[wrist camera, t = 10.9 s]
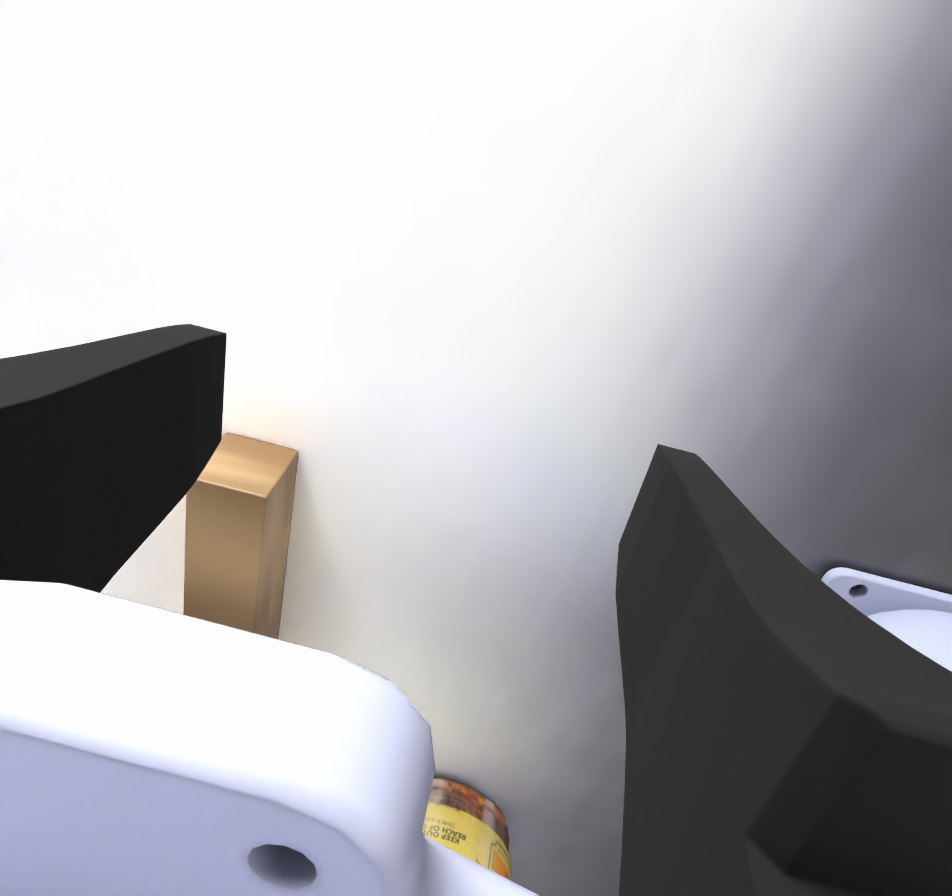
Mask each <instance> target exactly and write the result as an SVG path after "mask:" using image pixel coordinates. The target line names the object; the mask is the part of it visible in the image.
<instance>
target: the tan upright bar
mask: <svg viewBox="0 0 952 896" xmlns="http://www.w3.org/2000/svg"><path fill="white" fill-rule="evenodd" d="M297 462H298V451H297V450H293V449H289V448H285V447H281V446H278V445H274V444H270V443H266V442H262V441H258V440H254V439H250V438H247V437H243V436H239V435H235V434H231V433H226V434H225V435H224V437H223V438H222V439H221V442H220V444H219V445H218V447H217V449H216V450H215V452H214V454H213V455H212V457H211V459H210V460H209V462H208V463H207V465H206V467H205V468H204V470H203V471H202V473H201V474H200V476H199V477H198V479H197V480H196V482H195V483H194V485H193V486H192V487H191V488H190V490H189V491H188V492H187V493H186V530H185V575H184V615H186V616H190V617H194V618H198V619H202V620H205V621H209V622H213V623H217V624H221V625H225V626H228V627H232V628H236V629H240V630H244V631H247V632H251V633H255V634H259V635H263V636H267V637H270V638H274V639H278V635H279V626H280V617H281V607H282V598H283V589H284V580H285V571H286V562H287V553H288V544H289V535H290V526H291V517H292V507H293V498H294V489H295V480H296V471H297Z"/></svg>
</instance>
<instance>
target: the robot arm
mask: <svg viewBox="0 0 952 896" xmlns="http://www.w3.org/2000/svg"><path fill="white" fill-rule="evenodd" d="M225 352H226V333H223V332H219V331H215V330H211V329H207V328H203V327H199V326H195V325H191V324H186V325H174V326H168V327H162V328H156V329H151V330H146V331H141V332H137V333H132V334H127V335H123V336H118V337H114V338H109V339H104V340H100V341H95V342H91V343H86V344H81V345H76V346H71V347H65V348H60V349H54V350H49V351H44V352H38V353H33V354H27V355H22V356H16V357H9V358H3V359H0V896H539V895H537V894H535V893H533V892H531V891H529V890H528V889H526V888H524V887H522V886H520V885H518V884H516V883H514V882H512V881H510V880H508V879H506V878H504V877H503V876H501V875H499V874H497V873H495V872H493V871H491V870H489V869H487V868H485V867H483V866H481V865H479V864H478V863H476V862H474V861H472V860H470V859H468V858H466V857H464V856H462V855H460V854H458V853H456V852H455V851H453V850H451V849H449V848H447V847H445V846H443V845H441V844H439V843H437V842H435V841H433V840H431V839H430V838H428V837H426V836H424V834H423V831H422V829H423V824H424V819H425V815H426V810H427V805H428V801H429V796H430V792H431V787H432V782H433V778H434V773H435V763H434V754H433V745H432V736H431V727H430V725H429V724H428V723H427V722H426V720H425V719H424V718H423V717H422V716H421V715H420V713H419V712H418V711H417V710H416V709H415V708H414V707H413V705H412V704H411V703H410V702H409V701H408V700H407V698H406V697H405V696H404V695H403V694H402V693H401V691H400V690H399V689H398V688H397V687H396V686H395V685H394V683H392V682H391V681H390V680H388V679H386V678H384V677H382V676H380V675H378V674H376V673H373V672H371V671H369V670H367V669H365V668H363V667H361V666H359V665H356V664H354V663H352V662H350V661H348V660H346V659H344V658H342V657H340V656H337V655H335V654H331V653H328V652H324V651H320V650H316V649H312V648H308V647H305V646H301V645H297V644H293V643H289V642H286V641H282V640H278V639H274V638H270V637H267V636H263V635H259V634H255V633H251V632H247V631H244V630H240V629H236V628H232V627H228V626H225V625H221V624H217V623H213V622H209V621H205V620H202V619H198V618H194V617H190V616H186V615H183V614H179V613H175V612H171V611H167V610H163V609H160V608H156V607H152V606H148V605H144V604H141V603H137V602H133V601H129V600H125V599H121V598H118V597H114V596H110V595H106V594H102V593H100V592H101V591H102V589H103V588H104V587H105V586H106V585H107V583H108V582H109V581H110V580H111V578H112V577H113V576H114V575H115V574H116V572H117V571H118V570H119V569H120V568H121V567H122V566H123V565H124V563H125V562H126V561H127V560H128V559H129V558H130V557H131V556H132V554H133V553H134V552H135V551H136V550H137V549H138V548H139V547H140V545H141V544H142V543H143V542H144V541H145V540H146V539H147V538H148V536H149V535H150V534H151V533H152V532H153V531H154V530H155V529H156V527H157V526H158V525H159V524H160V523H161V522H162V521H163V520H164V518H165V517H166V516H167V515H168V514H169V513H170V512H171V510H172V509H173V508H174V507H175V506H176V505H177V504H178V502H179V501H180V500H181V499H182V498H183V497H184V495H185V494H186V493H187V492H188V491H189V490H190V488H191V487H192V486H193V485H194V483H195V482H196V480H197V479H198V477H199V476H200V474H201V473H202V471H203V470H204V468H205V467H206V465H207V463H208V462H209V460H210V459H211V457H212V455H213V454H214V452H215V450H216V449H217V447H218V445H219V444H220V442H221V434H222V413H223V393H224V373H225ZM855 585H863V586H862V587H861V588H859V589H856V590H850V588H852V587H853V586H855ZM616 605H617V618H618V631H619V643H620V654H621V665H622V677H623V688H624V700H625V715H626V761H625V794H624V814H623V834H622V855H621V869H620V884H619V896H952V595H950V594H946V593H942V592H938V591H934V590H931V589H927V588H923V587H919V586H915V585H911V584H907V583H903V582H899V581H896V580H892V579H888V578H884V577H880V576H876V575H872V574H868V573H865V572H861V571H857V570H853V569H849V568H843V567H838V568H833V569H831V570H829V571H828V572H827V573H826V574H825V575H824V576H823V578H822V579H821V580H820V579H819V578H818V577H816V576H815V575H814V574H813V573H812V572H811V571H810V570H808V569H807V568H806V567H805V566H804V565H803V564H802V563H801V562H800V561H799V560H797V559H796V558H795V557H794V556H793V555H792V554H791V553H790V552H789V551H788V550H787V549H786V548H785V547H784V546H783V545H782V544H781V543H780V542H779V541H778V540H777V539H776V538H775V537H774V536H773V535H772V534H771V533H770V532H769V531H768V530H767V529H766V528H765V527H764V526H763V525H762V524H761V523H760V522H759V521H758V520H757V519H756V518H755V517H754V516H753V515H752V513H751V512H750V511H749V510H748V509H747V508H746V507H745V506H744V505H743V504H742V503H741V501H740V500H739V499H738V498H737V497H736V496H735V495H734V494H733V493H732V492H731V490H730V489H729V488H728V487H727V486H726V485H725V484H724V483H723V481H722V480H721V479H720V478H719V477H718V476H717V475H716V474H715V473H714V472H713V470H712V469H711V468H710V467H709V466H708V465H707V464H706V463H705V462H704V461H703V460H702V459H701V458H700V457H698V456H697V455H696V454H694V453H690V452H687V451H683V450H679V449H675V448H671V447H667V446H663V445H659V444H658V446H657V448H656V451H655V453H654V456H653V458H652V461H651V463H650V466H649V469H648V471H647V474H646V476H645V479H644V481H643V484H642V486H641V489H640V492H639V494H638V497H637V499H636V502H635V504H634V507H633V509H632V512H631V515H630V517H629V520H628V522H627V525H626V527H625V530H624V533H623V535H622V538H621V540H620V543H619V552H618V565H617V580H616Z"/></svg>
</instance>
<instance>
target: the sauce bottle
mask: <svg viewBox="0 0 952 896" xmlns="http://www.w3.org/2000/svg"><path fill="white" fill-rule="evenodd" d="M422 831H423V834H424V836H426V837H428V838H430V839H431V840H433V841H435V842H437V843H439V844H441V845H443V846H445V847H447V848H449V849H451V850H453V851H455V852H456V853H458V854H460V855H462V856H464V857H466V858H468V859H470V860H472V861H474V862H476V863H478V864H479V865H481V866H483V867H485V868H487V869H489V870H491V871H493V872H495V873H497V874H499V875H501V876H503V877H504V878H506V879H508V880H510V873H511V859H510V856H509V854H508V853H509V849H508V844H509V837H508V828H507V826H506V821H505V818H504V817H503V814H502V811H501V810H500V809H499V807H498V806H497V805H496V804H495V802H493V801H491V800H489V799H487V798H485V797H484V796H483V795H482V794H480V793H479V792H477V791H476V790H474V789H473V788H471V787H469V786H466V785H463V784H460V783H457V782H455V781H452V780H446V779H444V778H433V782H432V787H431V792H430V796H429V801H428V805H427V810H426V815H425V819H424V824H423V829H422Z"/></svg>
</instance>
